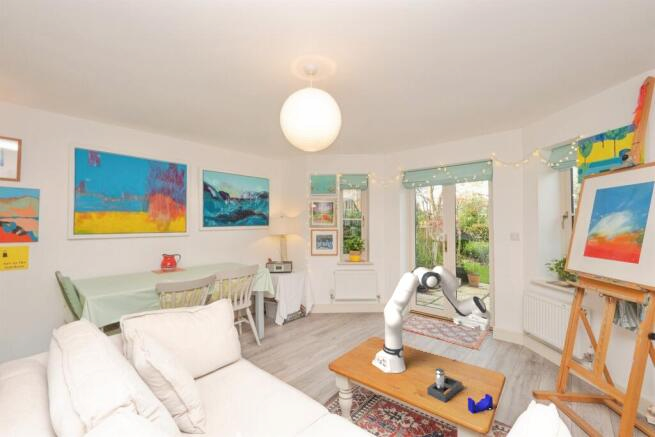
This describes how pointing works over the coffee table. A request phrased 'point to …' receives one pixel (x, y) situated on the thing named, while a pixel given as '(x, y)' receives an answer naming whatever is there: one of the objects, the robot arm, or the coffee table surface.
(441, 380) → the steel bushing
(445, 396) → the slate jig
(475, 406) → the cable clip
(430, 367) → the coffee table surface
